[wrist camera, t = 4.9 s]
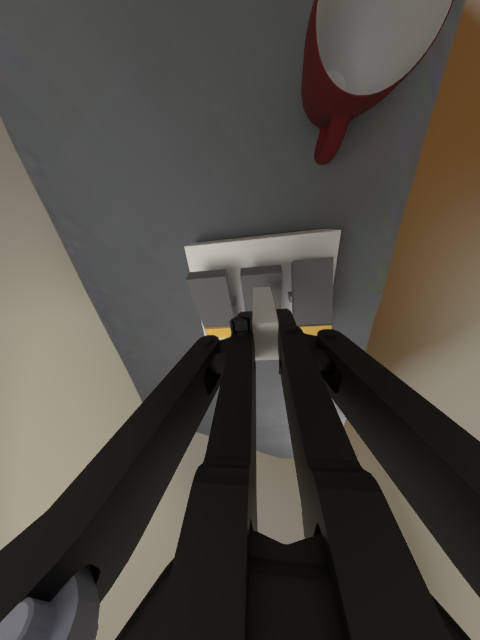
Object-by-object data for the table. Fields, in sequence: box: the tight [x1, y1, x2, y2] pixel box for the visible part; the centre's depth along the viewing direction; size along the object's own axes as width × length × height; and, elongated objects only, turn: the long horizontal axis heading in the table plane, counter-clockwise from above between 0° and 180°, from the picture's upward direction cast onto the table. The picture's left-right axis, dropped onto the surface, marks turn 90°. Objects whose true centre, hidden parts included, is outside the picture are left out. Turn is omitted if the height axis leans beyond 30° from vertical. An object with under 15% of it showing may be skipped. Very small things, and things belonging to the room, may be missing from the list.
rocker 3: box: [291, 257, 334, 336], centre depth 22 cm, size 10×4×2 cm, turn 6°
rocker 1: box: [186, 269, 236, 338], centre depth 24 cm, size 10×4×2 cm, turn 6°
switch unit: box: [184, 229, 341, 340], centre depth 27 cm, size 15×19×7 cm
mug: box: [302, 0, 454, 165], centre depth 16 cm, size 10×8×10 cm
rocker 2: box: [240, 265, 283, 311], centre depth 23 cm, size 10×4×2 cm, turn 6°
